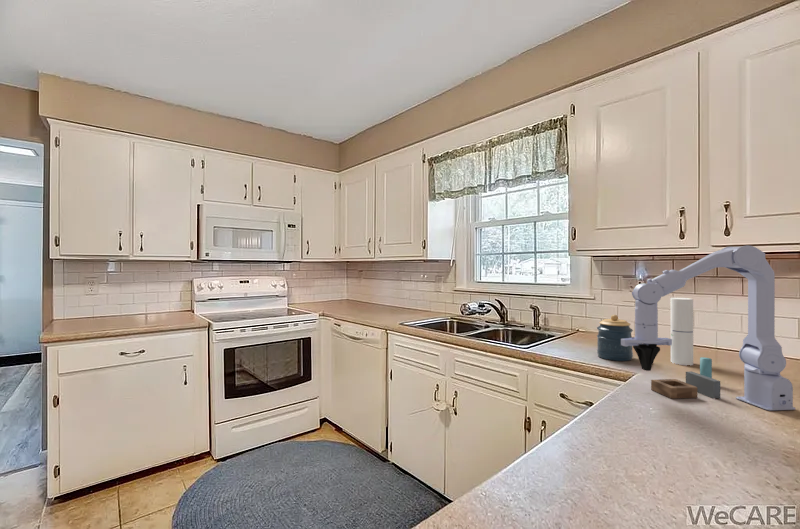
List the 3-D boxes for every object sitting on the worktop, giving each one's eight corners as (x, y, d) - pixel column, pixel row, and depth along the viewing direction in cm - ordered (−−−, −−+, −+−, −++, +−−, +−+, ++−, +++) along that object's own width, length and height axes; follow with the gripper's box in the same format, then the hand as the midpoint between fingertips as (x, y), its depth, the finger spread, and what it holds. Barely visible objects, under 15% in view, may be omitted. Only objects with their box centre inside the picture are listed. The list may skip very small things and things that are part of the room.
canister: (640, 359, 157) (640, 315, 157) (618, 363, 151) (618, 317, 151) (611, 352, 168) (610, 311, 168) (589, 355, 163) (589, 313, 163)
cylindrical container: (683, 366, 146) (683, 299, 146) (666, 361, 153) (665, 298, 153) (698, 364, 148) (697, 299, 148) (680, 360, 155) (679, 297, 155)
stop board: (720, 398, 111) (720, 381, 111) (713, 398, 111) (713, 381, 111) (691, 387, 121) (691, 371, 121) (685, 387, 121) (685, 371, 121)
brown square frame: (697, 397, 112) (697, 387, 112) (671, 398, 111) (671, 388, 111) (675, 388, 120) (675, 379, 120) (651, 389, 119) (651, 379, 119)
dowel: (714, 384, 124) (714, 359, 124) (705, 384, 124) (705, 359, 124) (706, 381, 127) (706, 357, 127) (697, 381, 127) (697, 357, 127)
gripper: (659, 321, 119) (659, 365, 120) (614, 322, 118) (614, 366, 119) (677, 325, 112) (677, 372, 113) (629, 326, 111) (629, 373, 111)
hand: (646, 369), depth 115 cm, fingers closed
